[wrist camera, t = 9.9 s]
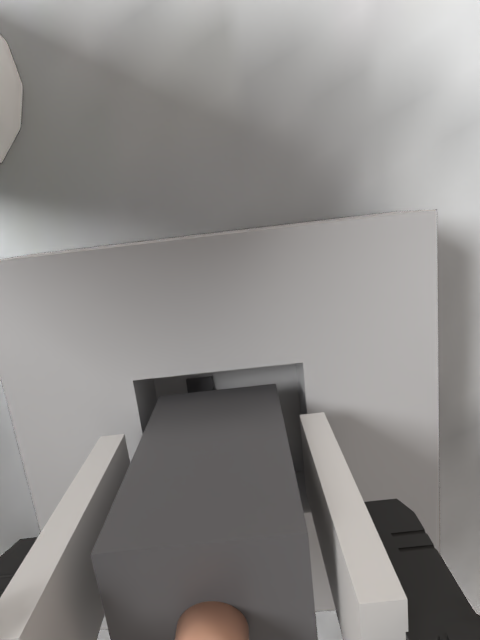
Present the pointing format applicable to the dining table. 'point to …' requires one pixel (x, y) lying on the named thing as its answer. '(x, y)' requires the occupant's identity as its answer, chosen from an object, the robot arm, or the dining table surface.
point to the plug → (208, 526)
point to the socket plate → (235, 348)
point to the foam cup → (9, 99)
